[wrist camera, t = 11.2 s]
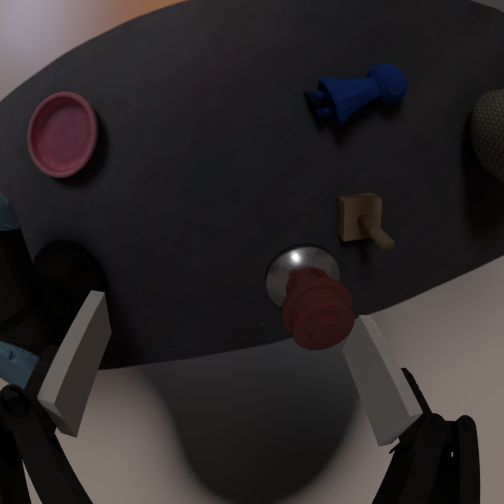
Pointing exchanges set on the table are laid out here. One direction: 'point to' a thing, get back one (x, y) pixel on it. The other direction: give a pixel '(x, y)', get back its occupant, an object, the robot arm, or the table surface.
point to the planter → (489, 132)
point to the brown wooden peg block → (362, 219)
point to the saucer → (62, 134)
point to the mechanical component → (316, 309)
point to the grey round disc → (297, 267)
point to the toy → (358, 92)
